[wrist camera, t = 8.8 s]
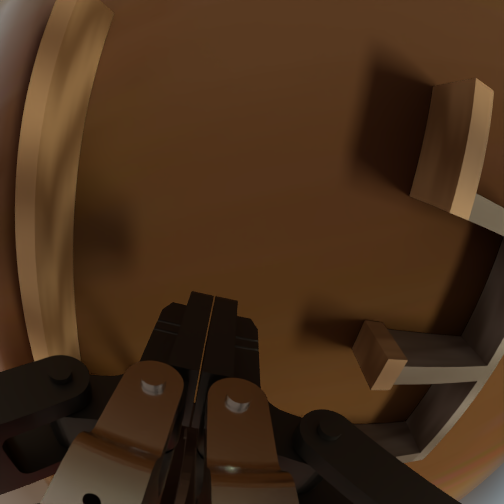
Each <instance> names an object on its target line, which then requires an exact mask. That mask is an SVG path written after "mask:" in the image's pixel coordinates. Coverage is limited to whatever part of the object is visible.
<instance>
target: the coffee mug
mask: <svg viewBox="0 0 504 504" xmlns="http://www.w3.org/2000/svg"><path fill="white" fill-rule="evenodd" d="M194 408H195V404H194V403H193V407H192V412H191V418H190V424H189V427H187V426H182V427H181V432H180V437H179V441H178V443H177V445H176V448H175V452H174V455H173V459H172V462H171V465H170V469H169V472H168V476H167V479H166V483H165V486H164V490H163V493H162V497H161V501H160V504H193V500H194V460H195V448H196V444H197V438H198V431H199V429H198V428H193V427H191V426H192V420H193V414H194Z"/></svg>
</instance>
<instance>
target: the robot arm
mask: <svg viewBox="0 0 504 504" xmlns="http://www.w3.org/2000/svg"><path fill="white" fill-rule="evenodd" d="M213 297H214V296H212V295H207V294H203V293H198V292H194V291H192V292H191V295H190V298H189V301H188V304H187V305H182V304H178V303H174V302H173V303H171V304H170V305H168V306H167V307H165V308H164V309H163V310H162V312H161V314H160V316H159V319H158V321H157V323H156V325H155V327H154V330H153V332H152V334H151V337H150V339H149V341H148V343H147V346H146V348H145V350H144V353H143V355H142V357H141V360H140V362H138V363H135V364H133V365H132V366H130V367H129V368H128V369H127V370H126V372H125V373H124V374H122V375H118V376H98V375H89V372H88V369H87V368H86V366H85V365H84V364H83V363H82V362H81V361H79V360H78V359H76V358H74V357H71V356H67V355H54V356H50V357H47V358H44V359H41V360H37V361H34V362H31V363H28V364H25V365H22V366H19V367H15V368H12V369H9V370H6V371H2V372H0V495H1V494H4V493H7V492H9V491H12V490H15V489H18V488H20V487H23V486H26V485H29V484H31V483H34V482H36V481H39V480H41V479H44V478H46V477H49V476H51V475H53V474H55V475H54V477H53V479H52V481H51V483H50V485H49V487H48V489H47V491H46V493H45V495H44V497H43V499H42V501H41V503H39V504H160V501H161V497H162V493H163V490H164V486H165V483H166V479H167V476H168V472H169V469H170V465H171V462H172V459H173V455H174V452H175V448H176V445H177V443H178V441H179V437H180V432H181V427H182V426H187V427H189V424H190V418H191V412H192V407H193V401H194V396H195V390H196V385H197V380H198V374H199V369H200V364H201V358H202V353H203V348H204V343H205V337H206V332H207V327H208V322H209V317H210V312H211V307H212V302H213ZM237 305H238V301H236V300H231V299H226V298H222V297H217V296H216V297H215V302H214V306H213V311H212V316H211V321H210V326H209V331H208V336H207V341H206V346H205V351H204V357H203V362H202V368H201V373H200V379H199V385H198V391H197V396H196V402H195V408H194V414H193V420H192V426H191V427H193V428H198V429H199V431H198V438H197V444H196V448H195V460H194V500H193V504H461V503H460V502H458V501H457V500H455V499H454V498H452V497H451V496H449V495H448V494H446V493H445V492H443V491H442V490H440V489H439V488H437V487H436V486H434V485H433V484H432V483H430V482H429V481H427V480H426V479H425V478H423V477H422V476H420V475H419V474H418V473H416V472H415V471H413V470H412V469H411V468H409V467H408V466H407V465H405V464H404V463H402V462H401V461H400V460H398V459H397V458H396V457H394V456H393V455H392V454H391V453H389V452H388V451H387V450H385V449H384V448H383V447H381V446H380V445H379V444H377V443H376V442H375V441H374V440H372V439H371V438H370V437H369V436H367V435H366V434H365V433H364V432H362V431H361V430H360V429H359V428H357V427H356V426H355V425H354V424H352V423H351V422H350V421H349V420H347V419H346V418H345V417H343V416H342V415H340V414H338V413H336V412H334V411H330V410H314V411H311V412H309V413H307V414H306V415H305V416H304V417H303V418H301V417H298V416H295V415H292V414H289V413H287V412H284V411H282V410H279V409H278V408H276V407H274V406H273V405H272V404H270V403H269V402H268V400H267V397H266V395H265V393H264V392H263V391H262V390H261V387H260V369H259V352H258V349H259V348H258V329H257V328H256V326H255V325H254V323H253V321H252V320H251V319H249V318H244V317H239V316H237Z"/></svg>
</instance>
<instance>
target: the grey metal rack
mask: <svg viewBox="0 0 504 504" xmlns="http://www.w3.org/2000/svg"><path fill="white" fill-rule="evenodd" d="M113 16H114V12H112V11H111V10H110V9H109V8H108V7H107V6H106V5H104V4H103V3H102V2H101V1H100V0H56V2H55V5H54V7H53V9H52V12H51V15H50V17H49V20H48V23H47V25H46V28H45V31H44V34H43V37H42V40H41V43H40V46H39V49H38V53H37V56H36V60H35V63H34V67H33V71H32V75H31V79H30V83H29V88H28V92H27V97H26V102H25V107H24V113H23V119H22V125H21V132H20V139H19V148H18V158H17V170H16V189H15V234H16V252H17V265H18V275H19V283H20V291H21V298H22V305H23V311H24V317H25V322H26V327H27V332H28V337H29V341H30V346H31V350H32V354H33V358H34V361H37V360H41V359H44V358H47V357H50V356H54V355H67V356H71V357H74V358H76V359H78V360H79V361H81V358H80V351H79V343H78V334H77V324H76V313H75V299H74V277H73V230H74V208H75V194H76V182H77V173H78V164H79V156H80V149H81V142H82V136H83V130H84V124H85V119H86V113H87V108H88V103H89V99H90V94H91V90H92V86H93V82H94V78H95V74H96V70H97V66H98V62H99V59H100V55H101V52H102V49H103V45H104V42H105V39H106V36H107V33H108V30H109V27H110V24H111V21H112V18H113ZM493 96H494V91H493V90H492V89H490V88H489V87H488V86H486V85H485V84H484V83H482V82H481V81H479V80H478V79H477V78H473V79H468V80H462V81H457V82H452V83H447V84H442V85H437V86H433V90H432V97H431V103H430V109H429V114H428V120H427V125H426V130H425V135H424V139H423V144H422V148H421V153H420V157H419V161H418V165H417V169H416V173H415V177H414V181H413V185H412V188H411V192H410V195H409V196H410V197H412V198H415V199H417V200H420V201H422V202H425V203H427V204H430V205H432V206H435V207H437V208H440V209H442V210H444V211H447V212H449V213H451V214H454V215H456V216H459V217H461V218H464V219H466V220H468V221H471V222H473V223H475V224H478V225H480V226H482V227H485V228H487V229H489V230H491V231H493V232H496V233H498V234H500V235H502V236H504V208H502V207H501V206H499V205H497V204H495V203H493V202H492V201H490V200H488V199H486V198H484V197H482V196H480V195H478V194H476V192H477V188H478V184H479V180H480V176H481V171H482V167H483V162H484V157H485V152H486V147H487V141H488V135H489V129H490V122H491V114H492V106H493ZM352 350H353V353H354V355H355V357H356V359H357V361H358V363H359V365H360V368H361V370H362V372H363V374H364V376H365V379H366V381H367V383H368V385H369V387H370V390H390V389H391V388H392V386H393V384H432V385H431V387H430V388H429V390H428V391H427V393H426V394H425V396H424V397H423V399H422V400H421V401H420V403H419V404H418V406H417V407H416V408H415V410H414V411H413V413H412V414H411V415H410V417H409V418H408V419H407V420H406V422H395V423H379V424H354V425H355V426H356V427H357V428H359V429H360V430H361V431H362V432H364V433H365V434H366V435H367V436H369V437H370V438H371V439H372V440H374V441H375V442H376V443H377V444H379V445H380V446H381V447H383V448H384V449H385V450H387V451H388V452H389V453H391V454H392V455H393V456H394V457H396V458H397V459H398V460H400V461H401V462H402V463H406V462H412V461H417V460H422V459H424V458H425V457H426V456H427V455H428V454H429V453H430V452H431V450H432V449H433V448H434V447H435V446H436V445H437V444H438V443H439V442H440V441H441V440H442V438H443V437H444V436H445V435H446V434H447V433H448V431H449V430H450V429H451V428H452V427H453V426H454V424H455V423H456V422H457V421H458V419H459V418H460V417H461V416H462V414H463V413H464V412H465V411H466V409H467V408H468V407H469V405H470V404H471V403H472V401H473V400H474V399H475V397H476V396H477V394H478V393H479V392H480V390H481V389H482V387H483V386H484V384H485V383H486V381H487V380H488V378H489V377H490V375H491V374H492V372H493V371H494V369H495V368H496V366H497V364H498V363H499V361H500V359H501V358H502V356H503V354H504V237H503V240H502V243H501V246H500V248H499V251H498V254H497V257H496V260H495V262H494V265H493V268H492V270H491V273H490V275H489V278H488V280H487V282H486V285H485V287H484V290H483V292H482V294H481V296H480V299H479V301H478V303H477V305H476V307H475V309H474V311H473V314H472V316H471V318H470V320H469V322H468V324H467V326H466V328H465V329H464V331H463V333H462V335H461V336H451V335H439V334H428V333H418V332H408V331H399V330H390V329H387V328H386V327H385V325H384V324H383V322H376V321H368V320H365V321H364V323H363V325H362V327H361V330H360V332H359V334H358V336H357V339H356V341H355V343H354V345H353V347H352Z"/></svg>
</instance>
